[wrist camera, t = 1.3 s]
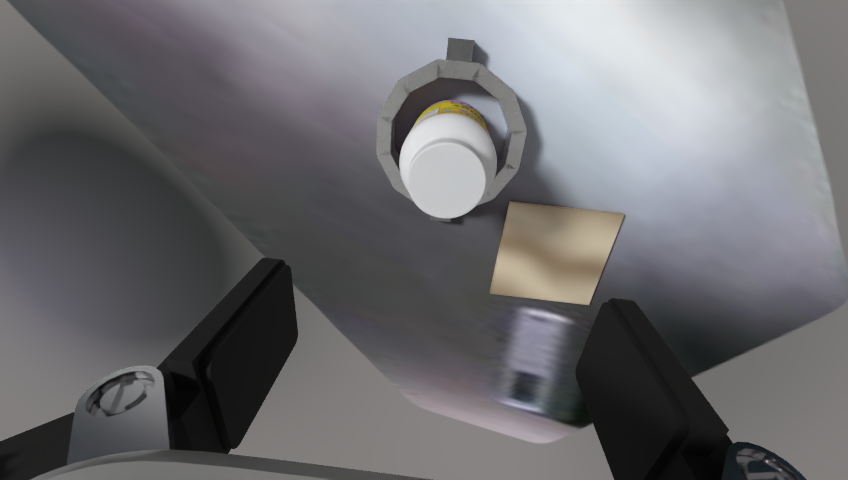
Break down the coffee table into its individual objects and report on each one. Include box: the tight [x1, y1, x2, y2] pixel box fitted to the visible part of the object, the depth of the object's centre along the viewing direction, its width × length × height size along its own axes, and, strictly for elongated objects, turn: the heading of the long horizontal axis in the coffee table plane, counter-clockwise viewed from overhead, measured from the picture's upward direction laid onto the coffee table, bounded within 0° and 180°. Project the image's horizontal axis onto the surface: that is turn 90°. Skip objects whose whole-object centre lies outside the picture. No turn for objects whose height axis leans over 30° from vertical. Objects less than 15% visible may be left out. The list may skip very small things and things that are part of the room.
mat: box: [490, 201, 624, 305], centre depth 36 cm, size 11×11×1 cm
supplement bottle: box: [399, 100, 497, 218], centre depth 26 cm, size 7×7×13 cm
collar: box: [377, 38, 527, 222], centre depth 31 cm, size 15×12×2 cm
